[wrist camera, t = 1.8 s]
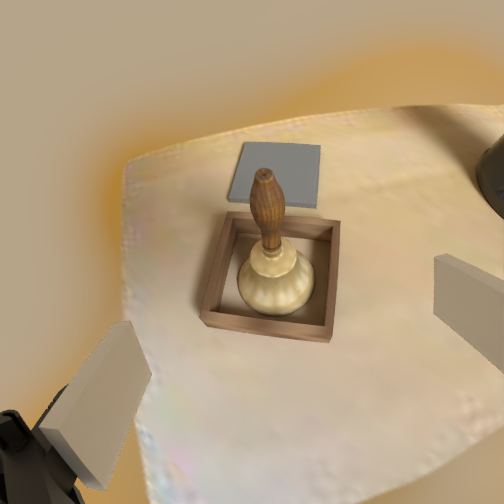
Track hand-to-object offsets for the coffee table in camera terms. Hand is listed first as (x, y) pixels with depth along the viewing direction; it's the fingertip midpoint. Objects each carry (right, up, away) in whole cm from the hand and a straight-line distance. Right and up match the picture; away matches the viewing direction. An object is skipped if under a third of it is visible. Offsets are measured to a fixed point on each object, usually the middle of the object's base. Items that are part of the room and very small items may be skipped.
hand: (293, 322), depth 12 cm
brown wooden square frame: (+1, 0, +22) cm, 22 cm away
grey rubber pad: (+2, +13, +29) cm, 32 cm away
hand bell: (+1, 0, +22) cm, 22 cm away
